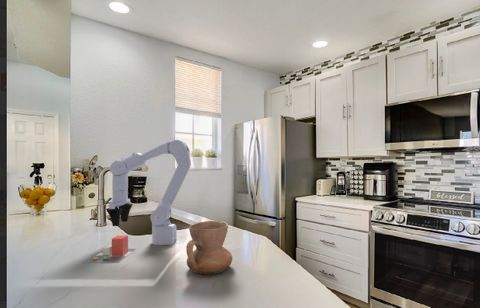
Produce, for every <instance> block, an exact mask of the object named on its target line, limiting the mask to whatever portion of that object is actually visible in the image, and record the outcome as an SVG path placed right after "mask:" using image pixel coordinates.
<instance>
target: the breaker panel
mask: <svg viewBox="0 0 480 308" xmlns="http://www.w3.org/2000/svg"><path fill="white" fill-rule="evenodd" d="M136 250H137V248H128V252H127V253H126V254H125V255H123V256H112V254H111V255H103V250H102V251H99V253H96V254H95V255H93V256H91V257H90V258H89V259H87V260H85V261H84V262H82V263H83V264H107V263H108V264H110V263H111V264H113V263H114V264H118V263H120V262H121V261H123V260H124V259H126V257H128V256H129V255H131V254H132V253H133V252H135V251H136Z"/></svg>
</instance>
